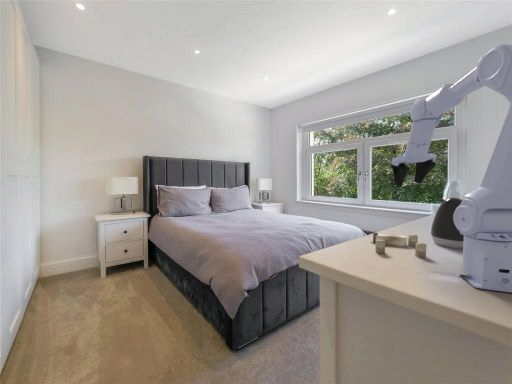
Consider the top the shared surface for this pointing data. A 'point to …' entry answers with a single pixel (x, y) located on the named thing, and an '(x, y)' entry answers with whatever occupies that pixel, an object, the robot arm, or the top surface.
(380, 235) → the hinged leg
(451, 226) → the dark grey tapered dome
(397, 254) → the top surface
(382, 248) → the stool seat
